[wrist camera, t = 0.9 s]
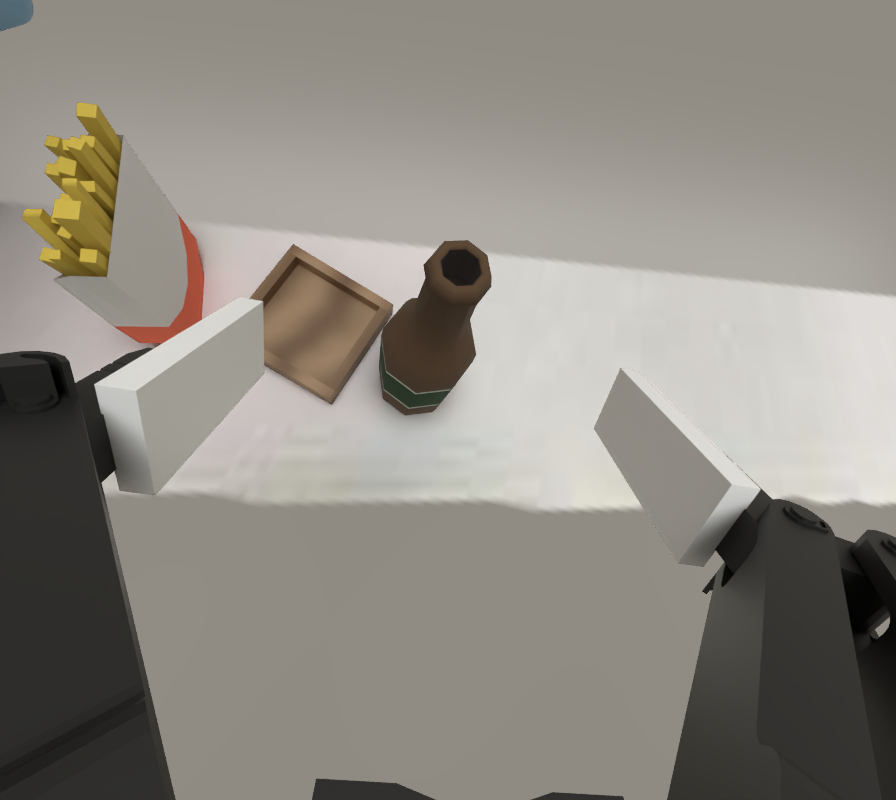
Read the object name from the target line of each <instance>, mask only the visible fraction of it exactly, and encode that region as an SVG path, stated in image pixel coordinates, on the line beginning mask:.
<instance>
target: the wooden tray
mask: <svg viewBox="0 0 896 800" xmlns="http://www.w3.org/2000/svg"><path fill="white" fill-rule="evenodd" d="M250 299H253V300H259V301H263V323H264V365H265V366H267V367H269V368H270V369H272V370H274V371H275V372H277V373H279V374H281V375H282V376H284V377H286V378H287V379H289V380H291V381H293V382H294V383H296V384H298V385H299V386H301V387H303V388H305V389H306V390H308V391H310V392H311V393H313V394H315V395H317V396H318V397H320V398H322V399H323V400H325V401H327V402H329V403H330V404H333V402H334V401H335V399H336V398H337V396H338V395H339V393H340V392H341V390H342V389H343V387H344V386H345V384H346V383H347V381H348V380H349V378H350V377H351V375H352V374H353V372H354V371H355V369H356V368H357V366H358V365H359V363H360V362H361V360H362V359H363V357H364V356H365V354H366V353H367V351H368V350H369V348H370V347H371V345H372V344H373V342H374V341H375V339H376V338H377V336H378V335H379V333H380V332H381V330H382V328H383V327H384V325H385V324H386V322H387V321H388V319H389V318H390V316H391V315H392V310H393V304H391V303H390V302H388V301H387V300H385V299H383V298H382V297H380V296H378V295H377V294H375V293H373V292H372V291H370V290H368V289H367V288H365V287H363V286H362V285H360V284H358V283H357V282H355V281H353V280H352V279H350V278H348V277H347V276H345V275H343V274H342V273H340V272H339V271H337V270H335V269H334V268H332V267H330V266H329V265H327V264H325V263H324V262H322V261H320V260H319V259H317V258H315V257H314V256H312V255H310V254H309V253H307V252H305V251H304V250H302V249H300V248H299V247H297V246H295V245H294V244H293V245H292V246H291V247H290V249H289V250H288V251H287V252H286V254H285V255H284V256H283V257H282V259H281V260H280V261H279V262H278V264H277V265H276V266H275V267H274V269H273V270H272V271H271V272H270V274H269V275H268V276H267V277H266V279H265V280H264V281H263V282H262V284H261V285H260V286H259V287H258V289H257V290H256V291H255V292H254V294H253V295H252V296H251V297H250Z"/></svg>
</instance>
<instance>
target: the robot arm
mask: <svg viewBox="0 0 896 800" xmlns="http://www.w3.org/2000/svg"><path fill="white" fill-rule="evenodd" d="M32 16H33V3H32V0H0V31H3V30H6V29H10V28H13V27H16V26H20V25H23V24H25V23H27V22H29V21H30V20H31V18H32ZM263 374H264V323H263V301H259V300H253V299H248V298H243V297H239V298H237V299H236V300H234V301H232V302H231V303H229V304H227V305H226V306H224V307H222V308H221V309H219V310H217V311H216V312H214V313H212V314H211V315H209V316H207V317H206V318H204V319H202V320H201V321H199V322H197V323H196V324H194V325H192V326H191V327H189V328H187V329H186V330H184V331H182V332H181V333H179V334H177V335H176V336H174V337H172V338H171V339H169V340H167V341H166V342H164V343H162V344H161V345H159V346H157V347H156V348H154V349H153V348H146V349H142V350H139V351H135V352H131V353H128V354H126V355H124V356H123V357H121V358H119V359H117V360H115V361H114V362H113V364H108V365H107V366H105V367H103V368H101V370H100V371H96V372H94V373H92V374H91V375H89V376H87V377H85V378H84V379H82V380H80V381H78V382H77V383H75V382H74V378H73V374H72V370H71V366H70V363H69V361H68V360H67V358H66V357H65V356H62V355H59V354H56V353H51V352H43V351H20V352H12V353H5V354H0V800H176V799H175V795H174V791H173V787H172V783H171V778H170V774H169V770H168V766H167V762H166V757H165V753H164V749H163V744H162V740H161V736H160V732H159V727H158V723H157V718H156V714H155V710H154V705H153V701H152V697H151V693H150V688H149V684H148V680H147V675H146V672H145V667H144V663H143V658H142V654H141V650H140V646H139V641H138V637H137V632H136V628H135V624H134V620H133V615H132V611H131V607H130V602H129V598H128V594H127V590H126V586H125V581H124V577H123V572H122V568H121V564H120V559H119V555H118V551H117V547H116V542H115V538H114V535H113V529H112V525H111V521H110V517H109V512H108V508H107V504H106V499H105V495H104V491H103V487H102V484H101V482H103V481H104V480H105V479H106V478H107V477H108V476H109V475H110V474H111V473H113V472H114V471H115V474H116V478H117V482H118V486H119V490H120V491H126V492H133V493H141V494H149V495H156V494H157V493H158V492H159V491H160V489H161V488H162V487H163V486H164V485H165V484H166V483H167V482H168V481H169V479H170V478H171V477H172V476H173V475H174V474H175V473H176V472H177V470H178V469H179V468H180V467H181V466H182V465H183V464H184V463H185V461H186V460H187V459H188V458H189V457H190V456H191V455H192V454H193V453H194V451H195V450H196V449H197V448H198V447H199V446H200V445H201V444H202V442H203V441H204V440H205V439H206V438H207V437H208V436H209V435H210V433H211V432H212V431H213V430H214V429H215V428H216V427H217V426H218V425H219V423H220V422H221V421H222V420H223V419H224V418H225V417H226V416H227V414H228V413H229V412H230V411H231V410H232V409H233V408H234V407H235V405H236V404H237V403H238V402H239V401H240V400H241V399H242V398H243V397H244V395H245V394H246V393H247V392H248V391H249V390H250V389H251V388H252V386H253V385H254V384H255V383H256V382H257V381H258V380H259V379H260V377H261V376H262V375H263ZM594 429H595V431H596V433H597V434H598V436H599V437H600V439H601V441H602V442H603V444H604V446H605V447H606V449H607V450H608V452H609V454H610V455H611V457H612V458H613V460H614V462H615V463H616V465H617V467H618V468H619V470H620V471H621V473H622V475H623V476H624V478H625V479H626V481H627V483H628V484H629V486H630V488H631V489H632V491H633V492H634V494H635V496H636V497H637V499H638V500H639V502H640V504H641V505H642V507H643V508H644V510H645V512H646V513H647V515H648V516H649V518H650V520H651V521H652V523H653V525H654V526H655V528H656V529H657V531H658V533H659V534H660V536H661V538H662V539H663V541H664V542H665V544H666V546H667V547H668V549H669V550H670V552H671V554H672V555H673V557H674V559H675V560H676V562H677V563H678V564H686V565H694V566H701V567H704V565H705V564H706V562H707V561H708V560H709V559H710V557H711V556H712V555H713V553H714V552H715V551H717V552H718V554H719V555H720V556H721V557H722V559H723V560H724V563H723V565H722V566H721V567H720V569H719V570H718V571H717V573H716V574H715V575H714V576H713V578H712V579H711V580H710V582H709V583H708V584H707V586H706V587H705V588H704V590H703V591H702V592H704V593H705V594H707V593H708V592H709V591H710V590H713V591H712V596H711V600H710V605H709V610H708V614H707V619H706V623H705V628H704V633H703V637H702V642H701V646H700V651H699V656H698V660H697V665H696V670H695V674H694V679H693V683H692V688H691V692H690V698H689V702H688V706H687V711H686V715H685V720H684V725H683V729H682V734H681V738H680V743H679V748H678V752H677V757H676V762H675V766H674V771H673V775H672V780H671V784H670V789H669V794H668V798H667V800H896V538H895V537H893V536H891V535H889V534H886V533H883V532H879V531H876V530H867V531H866V532H865V533H864V534H863V535H862V536H861V537H860V538H859V539H858V540H857V541H856V542H855V543H853V542H850V541H847V540H844V539H841V538H838V537H835V535H834V533H833V531H832V529H831V527H830V526H829V525H828V524H827V523H826V522H824V520H822V519H821V518H819V517H818V516H817V515H815V514H814V513H812V512H811V511H809V510H808V509H806V508H804V507H802V506H800V505H797V504H795V503H792V502H790V501H786V500H781V499H774V500H773V499H771V498H770V497H769V496H768V495H767V494H766V493H765V492H764V491H763V490H762V489H761V488H760V487H759V486H758V485H757V484H756V483H755V482H754V481H753V480H752V479H751V478H750V477H749V476H748V475H747V474H745V473H744V472H743V471H742V470H741V469H740V468H739V467H738V466H737V465H736V464H735V463H734V462H733V461H732V460H731V459H730V458H729V457H728V456H727V455H726V454H725V453H724V452H723V451H721V450H720V449H719V448H718V447H717V446H716V445H715V444H714V443H713V442H712V441H711V440H710V439H709V438H708V437H707V436H706V435H705V434H704V433H702V432H701V431H700V430H699V429H698V428H697V427H696V426H695V425H694V424H693V423H692V422H691V421H690V420H689V419H688V418H687V417H686V416H685V415H684V414H683V413H682V412H681V411H680V410H679V409H678V408H677V407H676V406H675V405H673V404H672V403H671V402H670V401H669V400H668V399H667V398H666V397H665V396H664V395H663V394H662V393H661V392H660V391H659V390H658V389H657V388H656V387H655V386H654V385H653V384H652V383H651V382H650V381H649V380H648V379H647V378H645V377H644V376H643V375H642V374H641V373H640V372H639V371H634V370H628V369H623V368H620V371H619V373H618V375H617V377H616V380H615V382H614V384H613V386H612V389H611V391H610V393H609V395H608V398H607V400H606V402H605V404H604V407H603V409H602V411H601V413H600V416H599V418H598V420H597V422H596V425H595V427H594ZM889 617H890V624H889V627H888V629H887V630H886V632H885V633H884V634H883V635H881V636H880V637H879V636H878V634H877V632H876V631H875V629H876V628H877V627H878V626H880V625H881V624H882V623H883V622H884V621H885V620H886V619H888V618H889ZM312 800H435V799H432V798H430V797H428V796H425V795H423V794H421V793H418V792H416V791H413V790H411V789H409V788H406V787H404V786H401V785H399V784H397V783H381V782H365V781H363V782H362V781H348V780H330V779H316V783H315V788H314V792H313V797H312ZM532 800H624V798H623V797H622V796H605V795H588V794H571V793H554V792H553V793H550V794H547V795H544V796H541V797H538V798H535V799H532Z"/></svg>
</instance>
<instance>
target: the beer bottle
mask: <svg viewBox="0 0 896 800" xmlns="http://www.w3.org/2000/svg"><path fill="white" fill-rule="evenodd" d="M424 271H425V277H426V278H425V281H424V283H423V286H422V288H421V291H420V293H419V296H418V298H412V299H410V300H408V301H406V302H405V304H404V305H403V306H402V307H401V308H400V309H399V311H398V312H397V313H396V314H395V315H394V316H393V318H392V319H391V320H390V321H389V322H388V323H387V325H386V326H385V327H384V329H383V332H382V335H381V347H380V360H379V371H380V379H381V386H382V394H383V399H384V400H386V401H387V402H388V403H390V404H391V405H392V406H394V407H395V408H396V409H398V410H399V411H400V412H402V413H403V414H404V415H410V414H418V413H425V412H432V411H434V410H435V409H436V408H437V407H438V405H439V404H440V403H441V402H442V401H443V399H444V398H445V397H446V396H447V394H448V393H449V392H450V391H451V390H452V388H453V387H454V386H455V384H456V383H457V382H458V380H459V379H460V378H461V376H462V375H463V374H464V372H465V371H466V370H467V368H468V367H469V366H470V364H471V363H472V362H473V360H474V358H475V356H476V351H475V346H474V340H473V334H472V329H471V323H470V318H471V316H472V314H473V311H474V309H475V307H476V305H477V304H478V303H479V301H480V300H481V299H482V297H483V296H484V295H485V294H486V292H487V291H488V290H489V289H490V287H491V272H490V267H489V262H488V257H487V255H486V254H485V253H484V252H482V251H481V250H480V249H479V248H477V247H476V246H475V245H473V244H472V243H471V242H469V241H468V240H466V241H444V243H443V244H442V245H441V246H440V247H439V248H438V249H437V250H436V251H435V253H434V254H433V255H432V256H431V257H430V258H429V259H428V261H427V262H426V263H425V264H424Z"/></svg>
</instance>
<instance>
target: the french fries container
mask: <svg viewBox="0 0 896 800" xmlns="http://www.w3.org/2000/svg"><path fill="white" fill-rule="evenodd" d="M76 116H77V117H78V119H79V120H80V122H81V123H82V124H83V126H84V127H85V128H86V130H87V131H88V132H89V134H88V135H81V136H80V138H75V137H73V136H71V138H70V139H69V140H67V139H61V138H58V137H53V136H47V139H46V141H45V144H44V145H45V146H46V147H47V148H48V149H50V150H51V151H52V152H53V153H54V154H55V155H57V156H58V157H59V158H58V160H57V162H56V164H50V163H47V166H46V170H45V174H46V175H47V176H48V177H49V178H50V179H51V180H52V181H53V182H55V183H56V184H57V185H58V186H59V187H60V188H61V189H62V190H63V191H64V192H65V193H66V194H60V199H55V201H54V208H53V213H52V216H51V217H50V216H49V215H48V214H47V213H46V212H45V211H44V210H43V209H25V211H24V214H23V216H22V219H23V220H24V221H25V222H26V223H27V224H28V225H30V226H31V227H32V228H33V229H34V230H35V231H36V232H37V233H38V234H39V235H40V236H41V237H43V238H44V239H45V240H46V241H47V242H48V243H49V244H50V245H51V246H52V247H53V248H54V249H56V250H54V249H50V248H46V247H43V250H42V253H41V255H40V258H39V260H41V261H43V262H44V263H46V264H47V265H49V266H51V267H52V268H54V269H55V270H57V271H59V272H60V273H62V274H63V275H61V276H59V277H57V278H55V279H54V281H55V282H57V283H58V284H59V285H61V286H62V287H63V288H65V289H66V290H67V291H68V292H70V293H71V294H72V295H74V296H75V297H76V298H78V299H79V300H80V301H81V302H83V303H84V304H85V305H87V306H88V307H89V308H91V309H92V310H93V311H94V312H96V313H97V314H98V315H100V316H101V317H102V318H104V319H105V320H106V321H107V322H109V323H110V324H111V325H113V326H114V327H116V328H117V329H119V330H120V331H122V332H123V333H125V334H127V335H128V336H130V337H131V338H133V339H135V340H136V341H138V342H139V343H164V342H166V341H167V340H169V339H171V338H172V337H174V336H176V335H177V334H179V333H181V332H182V331H184V330H186V329H187V328H189V327H191V326H192V325H194V324H196V323H197V322H199V321H201V318H202V302H203V286H204V274H203V270H202V265H201V261H200V256H199V251H198V247H197V242H196V239H195V237H194V236H193V235H192V233H191V232H190V230H189V229H188V227H187V226H186V225H185V223H184V222H183V220H182V219H181V217H180V216H179V215H178V213H177V212H176V210H175V209H174V208H173V206H172V204H171V203H170V202H169V200H168V199H167V197H166V196H165V194H164V193H163V192H162V190H161V189H160V187H159V186H158V184H157V183H156V182H155V180H154V179H153V177H152V176H151V175H150V173H149V172H148V170H147V169H146V167H145V166H144V165H143V163H142V161H141V160H140V159H139V157H138V156H137V154H136V153H135V151H134V150H133V149H132V147H131V146H130V144H129V143H128V141H127V140H126V139H125V137H124V136H123V135H116V133H115V132H114V130H113V128H112V127H111V125H110V124H109V122H108V121H107V119H106V118H105V116H104V115H103V113H102V112H101V110H100V109H99V107H98V105H95V104H87V103H79V102H77V112H76Z"/></svg>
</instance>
